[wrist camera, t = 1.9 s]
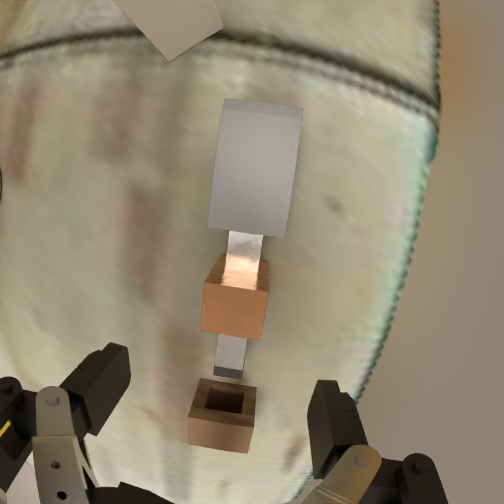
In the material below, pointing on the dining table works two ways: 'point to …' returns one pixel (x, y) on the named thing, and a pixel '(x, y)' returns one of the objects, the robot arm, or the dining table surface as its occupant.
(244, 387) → the socket block
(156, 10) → the milk
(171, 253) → the dining table surface
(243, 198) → the outer sleeve
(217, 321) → the bar with orange block
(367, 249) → the dining table surface
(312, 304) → the dining table surface
